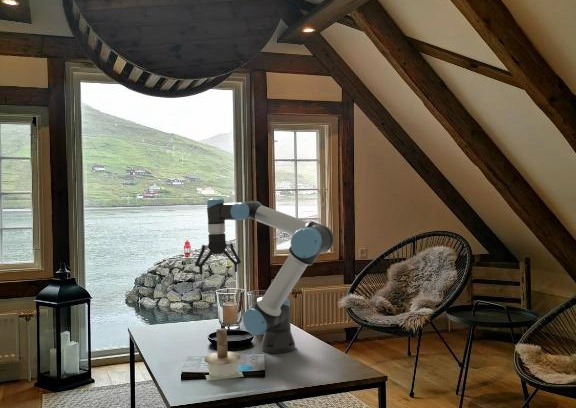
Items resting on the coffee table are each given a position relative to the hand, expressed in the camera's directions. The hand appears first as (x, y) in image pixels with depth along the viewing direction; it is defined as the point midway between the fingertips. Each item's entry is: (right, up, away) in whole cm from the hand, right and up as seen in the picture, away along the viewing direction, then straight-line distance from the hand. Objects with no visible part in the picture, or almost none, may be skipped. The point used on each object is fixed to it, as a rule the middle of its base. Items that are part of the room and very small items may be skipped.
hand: (218, 280), depth 255 cm
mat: (+5, -33, -31) cm, 45 cm away
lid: (+5, -27, -31) cm, 41 cm away
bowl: (+5, -32, -31) cm, 45 cm away
